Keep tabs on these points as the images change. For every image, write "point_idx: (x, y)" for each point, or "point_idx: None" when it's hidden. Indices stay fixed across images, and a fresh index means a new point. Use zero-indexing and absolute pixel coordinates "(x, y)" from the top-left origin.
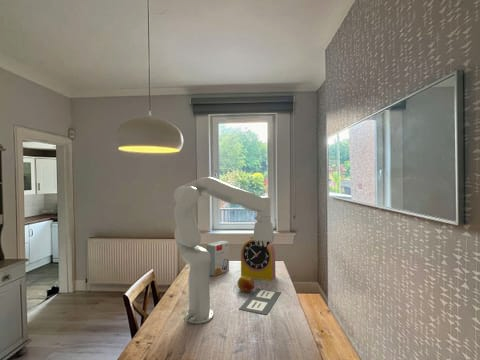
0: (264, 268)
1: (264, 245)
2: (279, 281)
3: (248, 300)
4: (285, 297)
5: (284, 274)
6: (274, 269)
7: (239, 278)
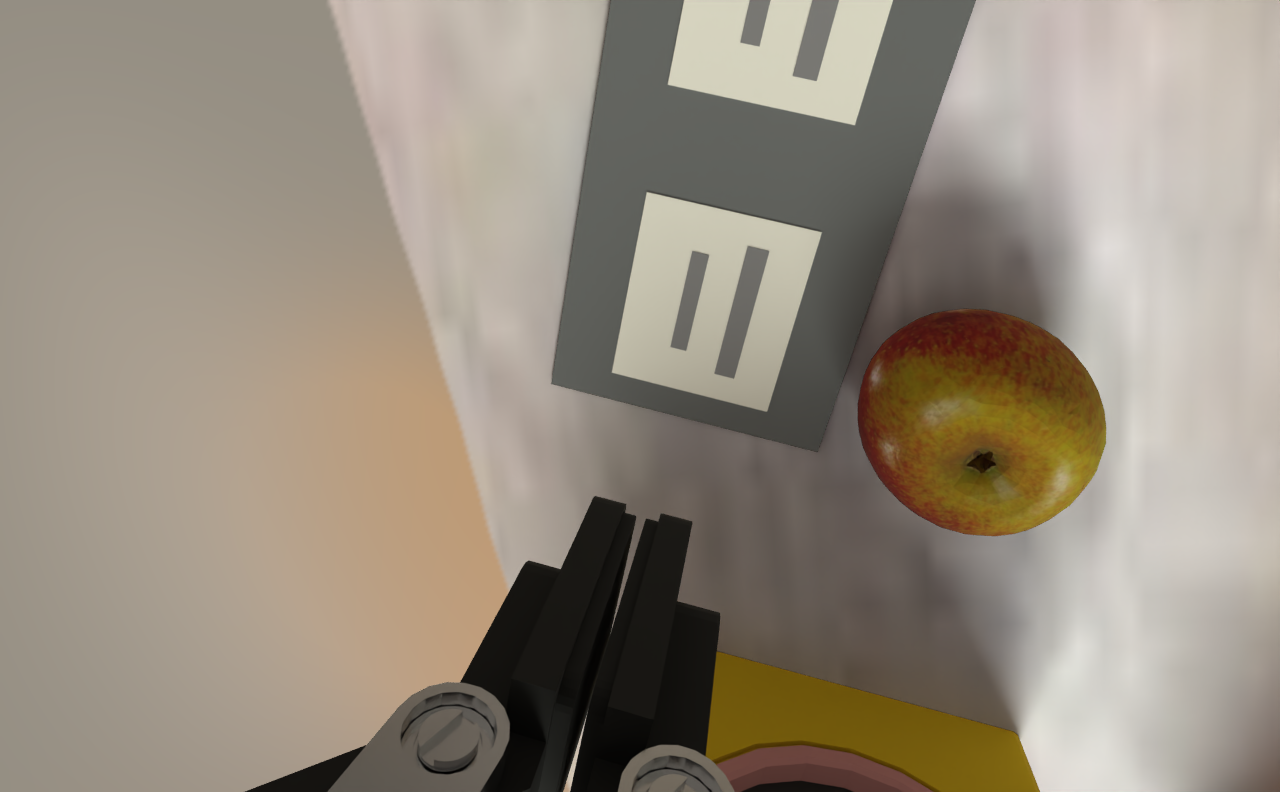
0: (743, 763)
1: (492, 758)
2: None
3: (911, 105)
4: (496, 274)
5: None
6: None
7: (1098, 453)
